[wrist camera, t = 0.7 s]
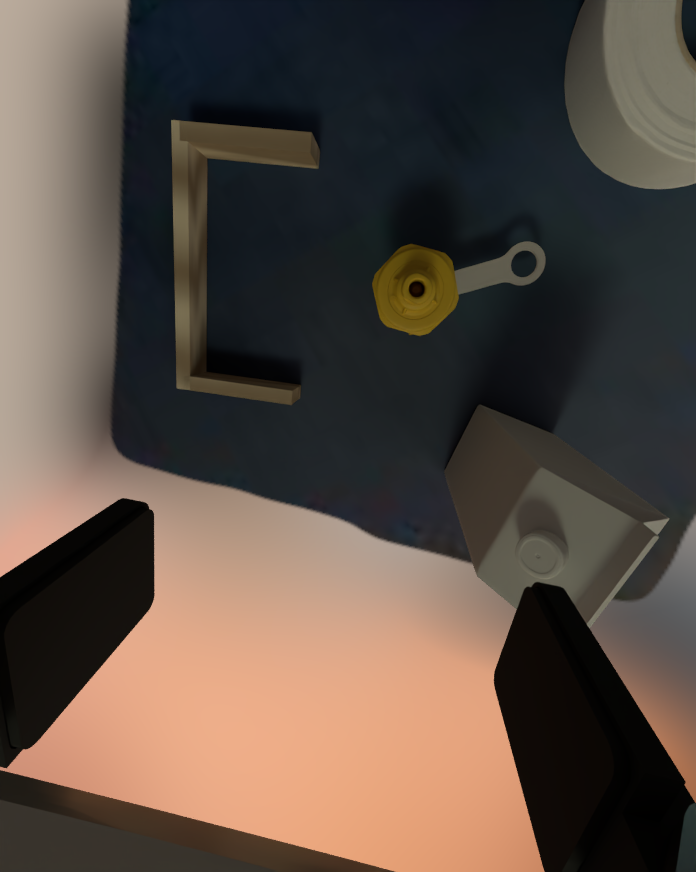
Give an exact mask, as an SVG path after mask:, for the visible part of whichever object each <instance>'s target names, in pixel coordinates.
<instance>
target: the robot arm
mask: <svg viewBox="0 0 696 872" xmlns="http://www.w3.org/2000/svg"><path fill="white" fill-rule="evenodd" d="M153 600H154V513H153V511H152V510H150V509H149V506H148V504H147V503H145V502H140V501H135V500H130V499H124V498H122V499H120V500H118V501H116V502H115V503H113V504H112V505H110V506H109V507H107V508H106V509H104V510H103V511H101V512H100V513H98V514H96V515H95V516H94V517H92V518H90V519H89V520H87V521H86V522H84V523H83V524H81V525H80V526H78V527H77V528H75V529H74V530H72V531H71V532H69V533H67V534H66V535H64V536H63V537H61V538H60V539H58V540H57V541H55V542H54V543H52V544H51V545H49V546H47V547H46V548H44V549H43V550H41V551H40V552H38V553H37V554H35V555H34V556H32V557H31V558H29V559H27V560H26V561H24V562H23V563H21V564H20V565H18V566H17V567H15V568H14V569H12V570H11V571H9V572H8V573H6V574H5V575H3V576H2V577H0V767H3V768H7V767H8V766H9V765H10V764H11V762H12V761H13V760H14V759H15V758H16V756H17V755H18V754H19V753H20V752H21V751H22V750H23V749H28V748H30V747H32V746H33V745H34V744H35V743H36V742H37V741H38V740H39V739H40V738H41V737H42V735H43V734H44V733H45V732H46V731H47V730H48V728H49V727H50V726H51V725H52V724H53V722H54V721H55V720H56V719H57V718H58V716H59V715H60V714H61V713H62V712H63V711H64V709H65V708H66V707H67V706H68V705H69V704H70V702H71V701H72V700H73V699H74V698H75V696H76V695H77V694H78V693H79V692H80V690H81V689H82V688H83V687H84V686H85V684H87V682H88V681H89V680H90V679H91V677H92V676H93V675H94V674H95V673H96V672H97V671H98V669H99V668H100V667H101V666H102V665H103V663H104V662H105V661H106V660H107V659H108V658H109V656H110V655H111V654H112V653H113V652H114V651H115V649H116V648H117V647H118V646H119V645H120V643H121V642H122V641H123V640H124V639H125V638H126V636H127V635H128V634H129V633H130V631H132V629H133V628H134V627H135V625H137V623H138V622H139V621H140V620H141V619H142V618H143V616H144V615H145V614H146V613H147V612H148V610H149V609H150V607H151V605H152V603H153ZM494 686H495V690H496V694H497V698H498V701H499V705H500V709H501V713H502V716H503V720H504V724H505V727H506V731H507V734H508V739H509V742H510V746H511V749H512V753H513V757H514V761H515V764H516V768H517V771H518V776H519V779H520V783H521V787H522V790H523V794H524V798H525V801H526V805H527V809H528V813H529V816H530V820H531V823H532V828H533V831H534V835H535V839H536V842H537V846H538V850H539V854H540V857H541V861H542V865H543V868H544V871H545V872H696V803H695V802H694V800H693V798H692V797H691V795H690V793H689V792H688V790H687V789H686V787H685V785H684V784H685V780H684V779H683V777H682V776H681V774H680V772H679V771H678V769H677V768H676V766H675V765H674V763H673V761H672V760H671V758H670V756H669V755H668V753H667V752H666V750H665V748H664V747H663V745H662V744H661V742H660V740H659V739H658V737H657V736H656V734H655V732H654V731H653V730H652V728H651V726H650V724H649V723H648V721H647V720H646V718H645V717H644V715H643V713H642V712H641V710H640V709H639V707H638V705H637V704H636V702H635V701H634V699H633V697H632V696H631V694H630V693H629V691H628V690H627V688H626V686H625V685H624V683H623V681H622V680H621V678H620V677H619V675H618V673H617V672H616V670H615V669H614V667H613V665H612V664H611V662H610V661H609V659H608V658H607V656H606V654H605V653H604V651H603V650H602V648H601V646H600V645H599V643H598V642H597V640H596V639H595V637H594V635H593V634H592V632H591V630H590V629H589V627H588V626H587V624H586V622H585V621H584V619H583V618H582V616H581V614H580V613H579V611H578V610H577V608H576V606H575V605H574V603H573V602H572V600H571V598H570V597H569V595H568V594H567V592H566V591H565V589H564V588H562V587H560V586H555V585H550V584H545V583H540V582H535V583H534V584H533V585H532V587H529V586H528V587H526V588H525V589H524V591H523V594H522V596H521V599H520V602H519V605H518V608H517V610H516V613H515V616H514V619H513V621H512V625H511V627H510V630H509V633H508V636H507V639H506V641H505V644H504V647H503V649H502V652H501V655H500V658H499V661H498V664H497V666H496V669H495V674H494ZM0 872H394V871H390V870H387V869H383V868H379V867H375V866H371V865H368V864H364V863H360V862H357V861H353V860H349V859H345V858H341V857H338V856H334V855H330V854H326V853H322V852H318V851H315V850H311V849H307V848H303V847H299V846H295V845H291V844H288V843H284V842H280V841H276V840H272V839H268V838H265V837H261V836H257V835H253V834H249V833H245V832H242V831H238V830H234V829H230V828H226V827H222V826H218V825H214V824H210V823H206V822H203V821H199V820H195V819H191V818H187V817H183V816H179V815H176V814H172V813H168V812H164V811H160V810H156V809H152V808H148V807H144V806H140V805H137V804H133V803H129V802H124V801H121V800H117V799H113V798H109V797H105V796H100V795H96V794H93V793H89V792H85V791H81V790H77V789H73V788H69V787H64V786H61V785H57V784H53V783H49V782H45V781H41V780H37V779H33V778H29V777H25V776H21V775H17V774H13V773H9V772H5V771H1V770H0Z"/></svg>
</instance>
